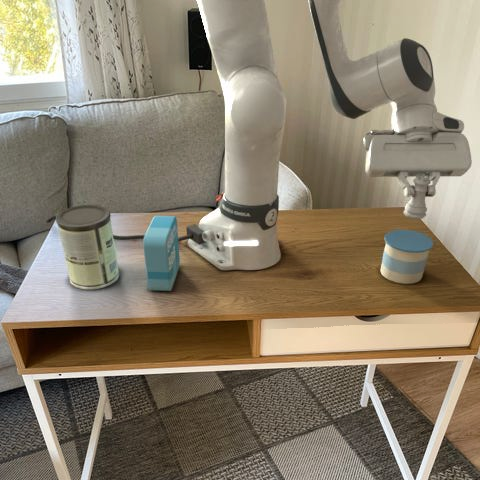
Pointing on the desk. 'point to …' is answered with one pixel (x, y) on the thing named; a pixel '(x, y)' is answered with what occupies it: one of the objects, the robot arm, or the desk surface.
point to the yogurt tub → (405, 256)
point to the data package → (161, 253)
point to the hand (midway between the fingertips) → (420, 195)
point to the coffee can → (88, 246)
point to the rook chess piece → (418, 198)
